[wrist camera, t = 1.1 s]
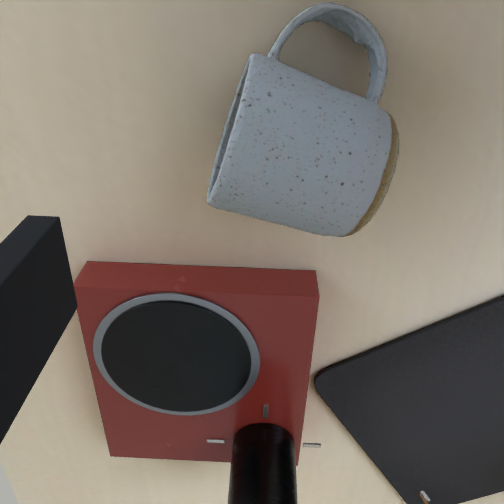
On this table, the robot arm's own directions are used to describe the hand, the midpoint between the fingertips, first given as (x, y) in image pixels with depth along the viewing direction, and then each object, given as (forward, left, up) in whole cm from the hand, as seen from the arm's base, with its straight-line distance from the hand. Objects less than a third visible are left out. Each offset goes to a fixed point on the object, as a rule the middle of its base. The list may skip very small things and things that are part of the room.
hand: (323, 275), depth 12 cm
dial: (+1, +26, -14) cm, 30 cm away
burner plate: (+7, +17, -14) cm, 23 cm away
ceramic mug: (0, 0, -17) cm, 17 cm away
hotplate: (+5, +21, -17) cm, 27 cm away
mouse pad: (-17, +25, -17) cm, 35 cm away
